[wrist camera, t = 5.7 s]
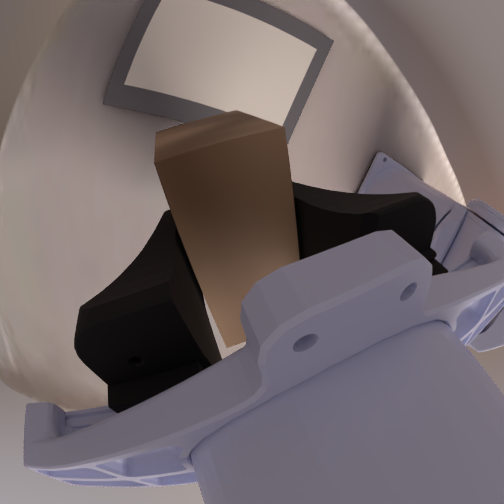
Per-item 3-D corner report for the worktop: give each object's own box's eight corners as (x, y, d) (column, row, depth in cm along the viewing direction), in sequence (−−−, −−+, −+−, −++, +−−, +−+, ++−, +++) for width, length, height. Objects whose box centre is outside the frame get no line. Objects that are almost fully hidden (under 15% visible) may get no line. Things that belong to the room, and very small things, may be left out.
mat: (329, 41, 15) (334, 40, 15) (279, 152, 20) (283, 155, 19) (162, -27, 10) (162, -30, 9) (104, 103, 14) (102, 104, 13)
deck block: (236, 110, 11) (284, 127, 7) (264, 255, 16) (303, 318, 12) (156, 132, 10) (154, 162, 6) (204, 275, 15) (226, 347, 11)
